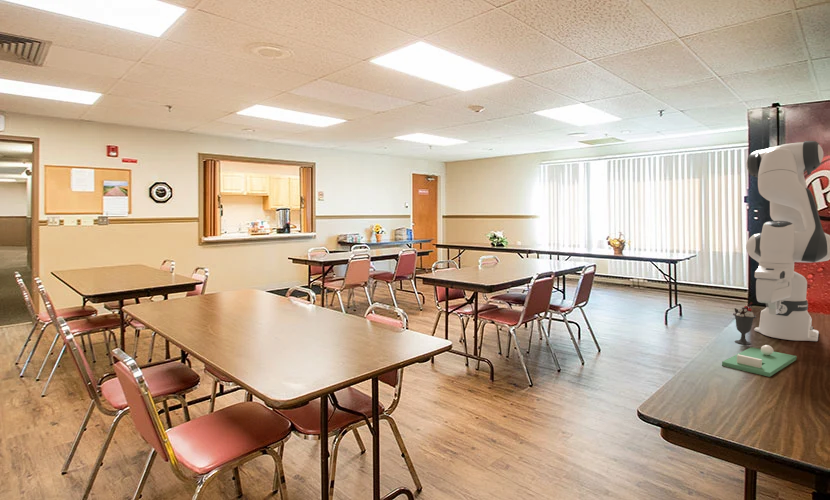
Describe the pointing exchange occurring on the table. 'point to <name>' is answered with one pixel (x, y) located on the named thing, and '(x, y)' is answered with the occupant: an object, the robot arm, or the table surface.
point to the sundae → (744, 322)
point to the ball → (767, 350)
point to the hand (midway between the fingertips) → (773, 314)
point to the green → (759, 361)
